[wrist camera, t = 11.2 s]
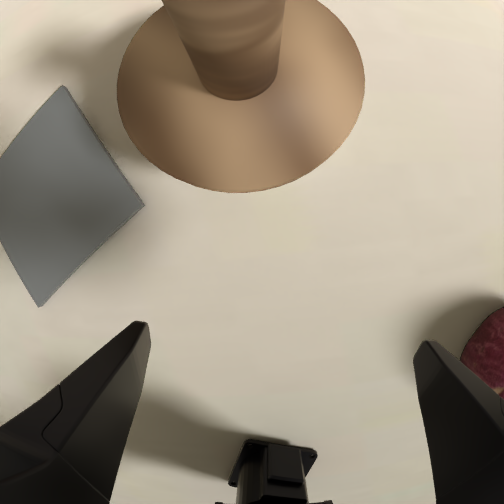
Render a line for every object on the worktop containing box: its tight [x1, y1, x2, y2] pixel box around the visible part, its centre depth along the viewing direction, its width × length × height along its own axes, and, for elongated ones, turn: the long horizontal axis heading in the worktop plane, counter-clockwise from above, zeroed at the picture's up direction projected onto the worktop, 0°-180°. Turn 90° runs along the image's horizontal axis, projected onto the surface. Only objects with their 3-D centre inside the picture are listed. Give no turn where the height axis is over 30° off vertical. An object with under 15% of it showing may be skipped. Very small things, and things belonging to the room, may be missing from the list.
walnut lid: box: [117, 0, 365, 193], centre depth 10 cm, size 13×13×11 cm
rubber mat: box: [0, 85, 145, 308], centre depth 21 cm, size 13×13×1 cm
